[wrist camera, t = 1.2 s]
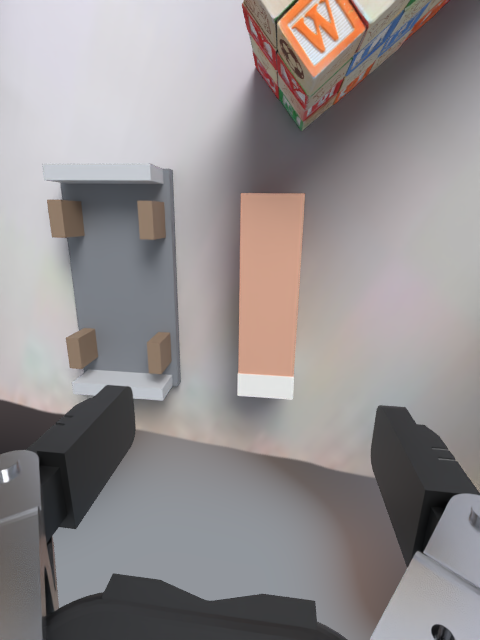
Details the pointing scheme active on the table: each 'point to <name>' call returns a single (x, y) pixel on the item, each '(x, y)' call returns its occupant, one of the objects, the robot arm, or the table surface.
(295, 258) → the peach lotion tube
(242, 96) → the table surface
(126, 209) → the cradle jig
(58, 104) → the table surface
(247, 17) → the stack of blocks
